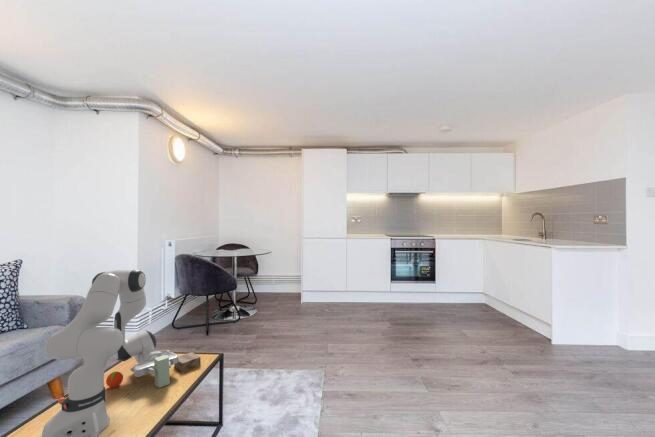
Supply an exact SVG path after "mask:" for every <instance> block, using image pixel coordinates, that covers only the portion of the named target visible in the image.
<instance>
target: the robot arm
mask: <svg viewBox="0 0 655 437" xmlns="http://www.w3.org/2000/svg"><path fill="white" fill-rule="evenodd" d="M146 279H147V278H146V275H145V273H144V272H143V271H142V270H140V269H124V270H123V269H122V270H121V269H118V270H109V271H103V272H99V273H97V274H95V276H94V277H93V278H92V281H91V286H90V287H89V289H88V291H87V295H86V297H85V299H84V302H83V303H82V305H81V308H80V310H79V312H78V313H77V315H76V316H75V317H74V318H73V319H72V320H71V321H70V322H69V323H67V325H66V326H64V327H63V328H61V329H59V330H57V331H56V332H54V333H52V334H51V336H49V337H48V339H47V340H46V342H45V345H44V353H45V355H46V357H47V358H48V359H50V360H51V359H52V360H58V361H59V360H60V361H66V360H78V359H79V360H81V359H83V364H82V365H80V366H79V367H78V368H76V369H74V370H73V371H72V372H71V373H70V375H69V377H68V379H67V386H68V387H67V393H68V394H67V395H68V396H66V397H64V396H63V397H62V396H61V397H60V398H59V399H58V400H57V403H58V404H59V405H61V409H60V410H58V411H57V413H55V414H54V416H52V417H51V418H50V419H49V420H48V421H47V422H45V425H44V427H43V429H42V433H41V434H40V435H39V436H38V437H98V436H99V434H100V433H101V432H102V431H103V430H105V428H107V427H108V426H109V424H110V422H111V421H110V417H109V414H108V412H107V407H106V398H107V391H106V386H105V381H104V380H105V369H106V366H107V363H108V362H109V360H110V359H111V358H112V356H114V358H115V359H116V360H117V361H119V362H127V361H128V360H130V359H131V358H133V357H134V360H135V362H136V364H135V365H134V366H132V367H131V368H130V371H131V372H132V373H133V374H134V377H136V378H139V377H143V376H146V375H148V374H153V375H155V373H157V369H154V358H156V357H159V356H162V355H166V356H168V357H169V369H172V366H173V365H174V364H177V363H178V361H179V355H178V354H176V353H175V352H173V351H172V352H171V351H170V350H169V349H165V350H156V348H157V340H156V336H155V335H154V334H153V333H152V332H151V331H149V330H144V331H141V332H139V333H136V334H134V335H133V336H130V337H127V338H126V326H127V325H128V324H129V322H130V321H131V320H133V319H134V318H135V317H136V316H138V315H139V314H140V313H141V312H143V310H144V308H145V307H146V305H147V299H146V293H145V290H144V289H145V288H144V287H145V285H146V282H147V281H146ZM118 297H119V301H120V302H119V304H120V305H119V309H118V311H117V312H116V313H115V314H114V320H113V322H114V323H113V327H107V326H103V327H98V326H99V325H100V324H102V323H104V322H106V321H108V320H109V319H110V318H111V316H112V315H113V312H114V309H115V307H116V303H117V301H118ZM155 350H156V351H155Z"/></svg>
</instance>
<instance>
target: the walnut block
mask: <svg viewBox="0 0 655 437" xmlns="http://www.w3.org/2000/svg"><path fill="white" fill-rule="evenodd" d="M178 357H179V361H178V363H177V364H174V367H175V368H176V369H177V370H179V371H181V373H184V372H186V371H188V370H191V369H194V368H196V366H197V367H198V366H201V363H202V362H201V356H200V355H198V354H196V353H195V352H193V351H190V352H187V353H184V354H183V355H178Z"/></svg>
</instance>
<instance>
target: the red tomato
mask: <svg viewBox="0 0 655 437" xmlns="http://www.w3.org/2000/svg"><path fill="white" fill-rule="evenodd" d="M123 380H124V375H123V373H121V372H120V371H113V372H111V373H110V374H109V375H108V376H107V377H106V380H105V383H106V386H107V387H109V388H116V387H118V386H120V385H121V384H122V382H123Z"/></svg>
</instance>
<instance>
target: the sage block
mask: <svg viewBox="0 0 655 437" xmlns="http://www.w3.org/2000/svg"><path fill="white" fill-rule="evenodd" d="M154 369H157V373H155V374H154V385H155V386H156V387H157V388H158V389H160V388H162V387H165V386H168V385H170V383H171V382H170V379H171V378H170V368H169V357H168V356H166V355H162V356H159V357H156V358H154Z"/></svg>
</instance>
